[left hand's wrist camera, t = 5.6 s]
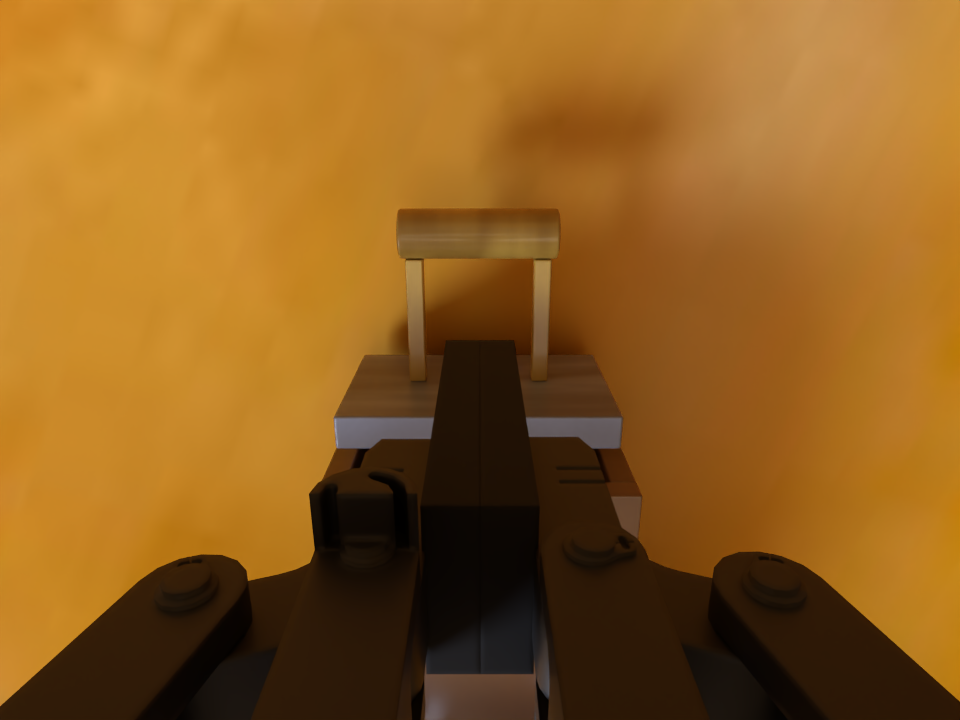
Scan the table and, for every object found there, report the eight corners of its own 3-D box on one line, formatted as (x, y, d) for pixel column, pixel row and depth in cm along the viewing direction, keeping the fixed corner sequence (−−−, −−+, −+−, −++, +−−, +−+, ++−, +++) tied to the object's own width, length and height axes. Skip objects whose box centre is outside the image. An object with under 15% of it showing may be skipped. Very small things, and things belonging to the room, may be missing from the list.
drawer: (354, 200, 25) (316, 223, 19) (603, 199, 25) (639, 223, 19) (384, 671, 33) (364, 787, 27) (573, 671, 33) (592, 787, 27)
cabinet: (357, 398, 29) (314, 496, 21) (600, 398, 29) (642, 496, 21) (379, 709, 35) (352, 870, 27) (578, 709, 35) (605, 870, 27)
